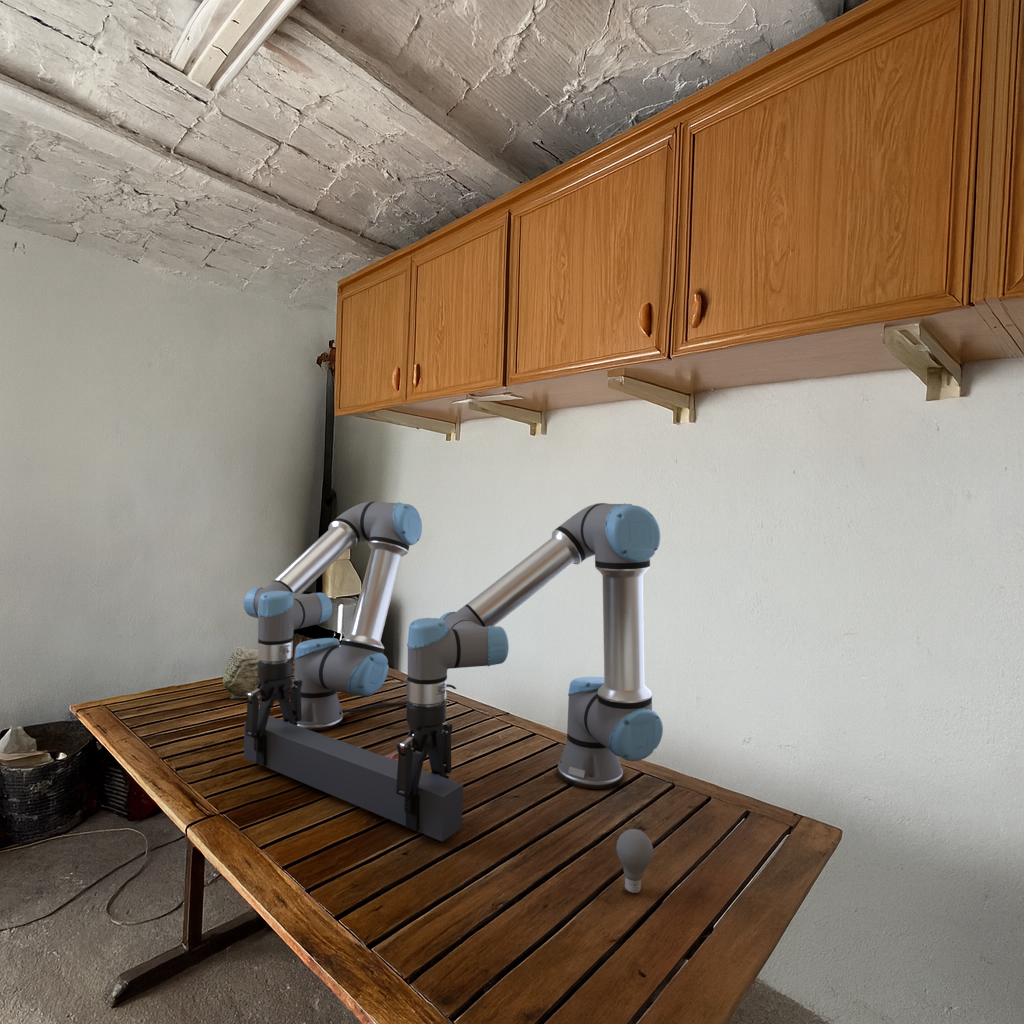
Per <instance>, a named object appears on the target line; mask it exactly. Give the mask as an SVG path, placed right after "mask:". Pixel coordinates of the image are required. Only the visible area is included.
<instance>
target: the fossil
mask: <svg viewBox="0 0 1024 1024" xmlns="http://www.w3.org/2000/svg"><path fill="white" fill-rule="evenodd" d="M259 661H260V660H258V647H257V648H251V647H247V646H246V647H245V646H238V647H237V648H236V649H235V650H233V651H232V653H231V656H230V657H229V659H228V660H227V663H226V666H225V668H224V671H223V675H222V676H223V677H222V685H223V687H224V688H225V690H226V691H228V693H229V698H230V699H246V693H247V692H253V691H254V690H256V689H257V686H258V684H259V679H258V662H259ZM259 697H260V698H261V695H259Z"/></svg>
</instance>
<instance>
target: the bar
mask: <svg viewBox="0 0 1024 1024" xmlns="http://www.w3.org/2000/svg"><path fill="white" fill-rule="evenodd" d="M243 728H244V729H243V736H244V737H243V758H244V759H246V760H248V761H251V762H253V763H255V764H257V763H256V751H254V738H252V737H249V736H247V735H246V734H245V732H246V721H244V724H243ZM264 736H266V737H267V765H266V766H264V767H265V768H267V769H270V770H272V771H274V772H276V773H279V774H281V775H284V776H286V777H288V778H291V779H293V780H296V781H298V782H300V783H302V784H304V785H307V786H309V787H312V788H314V789H317V790H319V791H321V792H324V793H326V794H328V795H331V796H333V797H336V798H338V799H340V800H342V801H345V802H347V803H349V804H351V805H354V806H356V807H359V808H362V809H364V810H366V811H369V812H371V813H373V814H375V815H377V816H380V817H382V818H385V819H387V820H390V821H392V822H394V823H397V824H399V825H402V826H403V827H406V812H405V810H404V806H405V797H403V796H401V795H398V794H396V786H397V770H398V761H396V760H393V759H390V758H387V757H385V756H386V755H382V754H379V753H376V752H373V751H370V750H367V749H365V748H362V747H359V746H356V745H353V744H350V743H347V742H345V741H342V740H339V739H336V738H333V737H330V736H328V735H325V734H322V733H320V732H314V731H311V730H308V729H305V728H302V727H300V726H297V725H294V724H291V723H288V722H285V721H284V719H283V720H282V719H279V718H277V717H274V716H271V715H269V718H268V721H267V725H266V729H265V733H264ZM417 794H418V795H420V812H419V830H418V831H417V832H418V833H421V834H423V835H425V836H427V837H430V838H432V839H434V840H437V841H439V842H441V843H443V842H444V841H445V840H447V839H448V838H449V837H451V836H453V835H454V834H455V833H457V832H458V831H459V830H461V829H462V828H463V811H464V809H463V808H464V805H463V804H464V783H461V782H458V781H455V780H453V779H450V778H449V779H447V778H444V777H441V776H438V775H436V774H433V773H432V772H430V771H427V770H424V769H422V771H421V776H420V780H419V785H418V790H417Z"/></svg>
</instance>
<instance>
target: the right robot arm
mask: <svg viewBox="0 0 1024 1024" xmlns="http://www.w3.org/2000/svg"><path fill="white" fill-rule="evenodd" d="M660 545H661V529H660V526H659V523H658V520H657V519H656V518H655V516H654V515H653V514H652V513H651V512H650V511H649V510H648V509H646V508H645V507H642V506H640V505H634V504H632V503H625V502H624V503H607V502H599V503H594V504H593V503H592V504H591V505H588V506H585V507H584V508H582V509H581V510H579V511H578V512H576V513H575V514H574V515H572V516H571V517H569V518H568V519H566V520H565V521H564V522H563V523H562V524H560V525H558V527H556V528H555V529H554V530H553V531H552V532H551V538H549V539H548V540H547V541H546V542H544V543H543V544H542V545H540V546H539V547H538V548H537V549H535V550H534V551H532V553H530V554H529V555H528V556H527V557H525V558H523V560H521V561H520V562H519V563H518V564H516V565H515V566H514V567H513V568H511V569H509V570H508V571H507V572H506V573H505V574H503V575H502V576H500V577H499V578H498V579H497V580H496V581H494V583H492V584H491V585H489V586H488V587H487V588H485V589H484V590H482V592H480V593H479V594H478V595H477V596H476V597H474V598H472V599H471V600H470V601H468V603H466V604H465V605H463V606H462V607H461V608H459V609H458V610H456V611H449V612H445V613H443V614H442V615H441V616H440V617H438V618H437V617H422V618H417V619H415V620H414V619H413V620H412V621H411V622H410V624H409V626H408V635H407V643H406V647H407V675H406V676H407V678H406V701H408V703H407V704H406V710H405V711H406V712H405V715H406V717H405V719H406V722H407V724H408V725H409V731H408V734H407V738H406V739H405V740H404V741H402V740H399V741H398V742H397V743H396V750H397V752H398V754H399V755H398V770H397V786H396V794H398V795H401V796H403V797H405V806H404V810H405V812H406V826H405V828H407V829H410V830H412V831H414V832H418V830H419V812H420V795H418V794H417V790H418V785H419V780H420V776H421V771H422V770H423V766H424V760H425V759H427V757H428V761H429V766H430V771H431V773H433V774H436V775H438V776H441V777H444V778H447V779H450V776H449V775H447V774H451V773H452V732H453V726H454V725H453V724H452V723H449V722H446V719H447V702H446V700H447V687H446V684H447V679H448V670H449V669H462V668H479V667H491V666H496V665H501V664H503V663H504V662H505V661H506V660H507V658H508V655H509V646H510V645H509V639H508V638H509V637H508V634H507V631H506V630H505V629H504V628H503V627H502V626H500V625H499V626H497V625H498V624H499V623H500V622H501V621H502V620H504V619H505V618H506V617H507V616H509V615H510V614H511V613H513V612H514V611H516V609H518V608H519V607H520V606H521V605H523V604H524V603H525V602H527V601H528V600H529V599H530V598H531V597H532V596H534V595H536V593H538V592H539V591H540V590H542V589H543V588H544V587H545V586H547V584H549V583H550V582H551V581H553V580H554V579H555V578H557V577H558V576H559V575H560V574H561V573H563V572H564V571H565V570H566V569H568V568H569V567H570V566H572V565H577V566H578V565H580V564H581V563H582V562H584V561H586V560H587V559H589V558H590V557H593V556H594V568H595V569H596V570H597V571H598V572H599V573H600V574H601V577H602V625H603V628H602V629H603V676H581V677H577V678H574V679H572V680H571V681H570V683H569V688H568V693H567V696H568V704H567V705H568V706H567V730H566V732H567V733H566V742H565V744H564V747H563V749H562V753H561V756H560V758H559V759H558V763H557V775H558V777H559V778H560V779H561V780H563V782H566V783H567V784H568V785H572V786H574V787H577V788H583V789H589V790H607V789H611V788H615V787H617V786H618V785H620V784H621V783H622V781H623V775H624V770H623V769H624V768H623V766H622V764H621V762H620V761H621V760H620V758H621V759H623V760H625V761H628V762H638V761H643V760H645V759H646V758H648V757H649V756H651V755H652V754H653V752H654V751H655V749H657V748H658V747H659V745H660V743H661V740H662V738H663V734H664V725H663V720H662V719H661V717H660V716H659V714H658V713H657V712H656V711H655V710H653V694H652V693H653V691H652V690H651V689H649V688H648V687H647V686H646V684H645V624H644V614H645V613H644V575H645V573H646V572H647V571H648V570H649V569H650V568H651V558H652V557H653V556H655V554H656V551H657V550H659V547H660Z"/></svg>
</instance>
